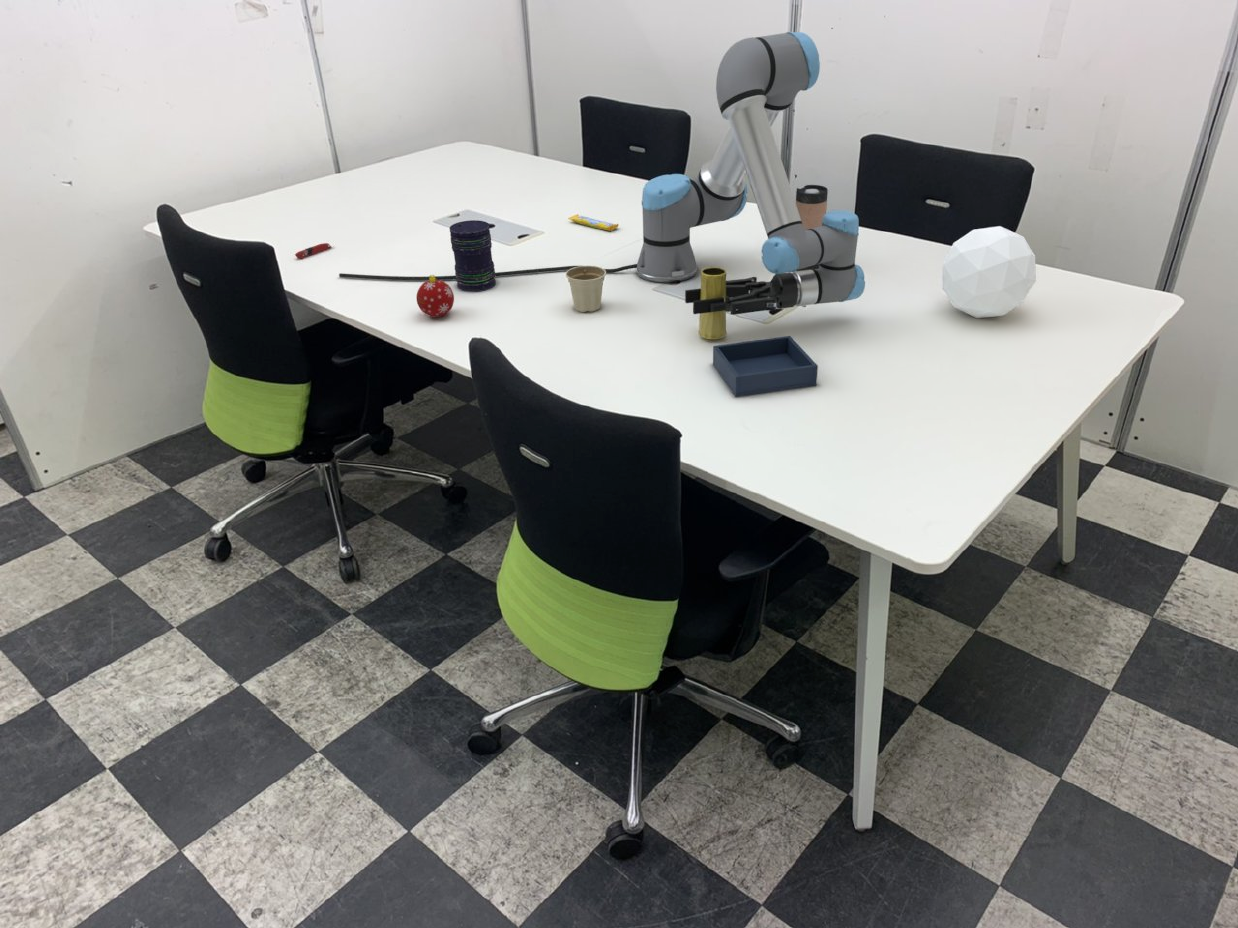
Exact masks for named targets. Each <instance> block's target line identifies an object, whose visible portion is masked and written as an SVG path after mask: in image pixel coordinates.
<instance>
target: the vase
mask: <svg viewBox="0 0 1238 928" xmlns="http://www.w3.org/2000/svg"><path fill="white" fill-rule="evenodd" d="M726 281H727V270H726V269H725V268H723V267H720V266H708V267H705V268H703V269H701V271H700V288H701V299H700V300H705V299H713V298H722V297H723V298H724V302H725V296H726ZM698 321H699V322H698V335H699V336H700V337H701V338H703V339H708V340H719V339H722V338H724V337H726V336H727V333H728V332H727V312H726V311H725V310H724V311H717V312H709V313H701V314H699V320H698Z"/></svg>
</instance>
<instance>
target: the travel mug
mask: <svg viewBox="0 0 1238 928" xmlns="http://www.w3.org/2000/svg"><path fill="white" fill-rule="evenodd" d="M828 193H829V190H828V188H827V187H826V186H824V185H819V184H806V185H804V186H803V187H802V188H799V187H797V188H796V191H795V203H796V206H797V209H798V212H799V215H800V218H801V221H802V224H803V227H804V230H807V229H811V228H815V227H819V226H822V220H823V216H824V215H825V214H826V213H827V208H828ZM813 269H819V264H817V265H813V266H809V267H805V268H802V269H798V270H796V271H803V270H813Z"/></svg>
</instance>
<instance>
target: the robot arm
mask: <svg viewBox="0 0 1238 928" xmlns="http://www.w3.org/2000/svg"><path fill="white" fill-rule="evenodd" d="M818 51H819V50H818V47H817V46H816V44H815V42H814V40H813V38H812V37H810V36H809V35H808V34H807V33H805V32H801V31H794V32H793V31H786V32H782V33H776V34H768V35H763V36H757V37H753V36H751V37H746V38H743V39H740V40H737V41H736V42H735V43H733V44H732V45H731V46H730V47H729V49H727V51H725V53H724V55H723V56H722V59H721V61H720V63H719V65H718V68H717V73H716V81H715V90H716V91H715V92H716V93H715V94H716V100H717V104H718V108H719V111H720V115H721V117H722V119H724V120H726V121H728V122H729V126H728V128H727V130H726V132H725V134H724V136H723V137H722V140H721V141H720V144H719V146H718V148H717V150H716V152H715V154H714V156H713V158H712V159H709V160H707V161H705V162H704V163H703V165H702V166H701V168H700V170H699V172H698V174H697V175H696V176H695V177H691V178H689V176H687V175H685V174H682V173H672V174H662V175H659V176H656V177H654V178H652V179H650V180H649V181H647V182H646V183H645V184H644V186H643V188H642V197H641V207H642V234H643V235H642V238H643V239H642V241H643V242H642V243H643V244H642V246H641V250H640V253H639V256H638V260H637V263H633V264H628V265H623V266H620V267H617V268H604V269H605V271H606V274H610V273H613V274H614V273H619V272H622V271H627V270H632V269H636V274H637V276H638V278H641V279H643V280H645V281H648V282H653V283H665V284H667V283H677V282H682V281H687V280H689V279H691V278H693V277H695V276H696V275H697V272H698V264H697V260H696V256H695V254H694V251H693V247H692V244H691V229H692V228H695V227H699V226H704V225H710V224H714V223H718V222H725V221H728V220H730V219H733V218H735V217H737V216H739V215H740V214H741V213H742V212H743V210H744V209H745V206H746V204H747V201H748V196H747V194H748V186H747V182H746V178H745V175H746V176H747V180H748V182H749V185H750V188H751V190H752V194H753V197H754V200H755V202H756V206H757V210H758V213H759V216H760V218H761V221H762V225H763V228H764V230H765V234H766V236H767V239H766V240H765V241H764V243H763V244H762V247H761V250H760V252H761V254H762V255H761V261H762V263H763V265H764V267H765V269H766V270H767V271H768V272H770V273H771V274H774V275H773V276H772V278H771V280H770V281H763V280H762V281H761V280H760V281H759V280H758V277H757V276H750V277H748V278H740V279H730V280H726V296H725V302H724V298H723V297H722V298H713V299H705V300H700V299H701V287H700V288H692V289H686V290H685V291H684V302H685V304H692V314H693V315H700V314H701V313H709V312H717V311H724V310H725V311H726V313H730V315H731V316H732V315H733V316H734V315H735V316H736V315H742V314H750V313H756V312H757V313H758V312H764V311H770V312H771V311H772V312H773V311H776V310H777V309H778V310H782V309H791V308H794V307H802V308H806V307H807V306H813V305H820V304H821V305H822V304H830V303H843V302H847V301H852V300H857V299H858V298H860V297H861V296H862V295H863V294H864V291H865V287H866V281H865V278H866V277H865V273H864V269H863V268H862V267H861V266H860V265H858V264H856V255H857V247H858V238H859V228H860V224H859V223H860V221H859V216H858V215H857V214H856V213H854V212H852V211H849V210H843V209H842V210H841V209H838V210H837V209H835V210H830V211H826V214H825V215H824V216H823V220H822V226H819V227H815V228H811V229H807V230H804V227H803V224H802V221H801V218H800V215H799V212H798V209H797V206H796V199H795V197H794V195H793V191H792V187H791V185H790V182H789V179H788V175H787V172H786V170H785V166H784V163H783V161H782V158H781V155H780V152H779V149H778V146H777V145H778V144H777V142H776V139H775V137H774V136H775V135H774V132H773V130H772V126H773V124H774V123H775V121H776V119H777V117H778V115H779V113H780V112H783V111H786V110H788V109H789V108H790V107H791V106H792V104H793V102H794V101H795V98H796V97H797V95H798V94H799V92H800V91H802V92H804V91H808V90H809V89H811V88H813V87H814V85H816V83H817V82H818V79H819V75H820V69H821V61H820V55H819V52H818ZM817 264H819V269H813V270H803V271H796V270H798V269H802V268H805V267H809V266H813V265H817ZM578 266H579V265H566V266H565V265H564V266H554V267H543V268H533V269H532V268H531V269H520V270H510V271H509V270H508V271H497V272H495V277H504V276H514V275H515V276H516V275H524V274H537V273H549V272H550V273H551V272H561V271H568V270H569V269H571V268H574V267H578ZM338 276H339V278H348V279H349V278H351V279H362V280H363V279H364V280H385V281H429V278H430V277H429V276H430V275H429V276H406V275H405V276H404V275H403V276H401V275H399V276H397V275H373V274H358V273H357V274H355V273H339V274H338ZM434 276H435V275H434ZM434 276H431V277H434ZM435 279H436V280H440V281H446V280H450V281H451V280H457V278H456V275H438V276H437V275H436V276H435Z"/></svg>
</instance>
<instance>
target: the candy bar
mask: <svg viewBox="0 0 1238 928" xmlns="http://www.w3.org/2000/svg"><path fill="white" fill-rule="evenodd" d="M568 220H569V221H571V222H574V223H577V224H581V225H583V226H586V227H590V228H593V229H594V228H595V229H599V230H603V231H607V232H613V231H614V230H616V229H617V228H618V227H619V225H620V224H619V223H612V222H608V221H603V220H600V219H595V218H592V217H589V216H584V215H579V214H574V215H571V216H570V217H568Z"/></svg>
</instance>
